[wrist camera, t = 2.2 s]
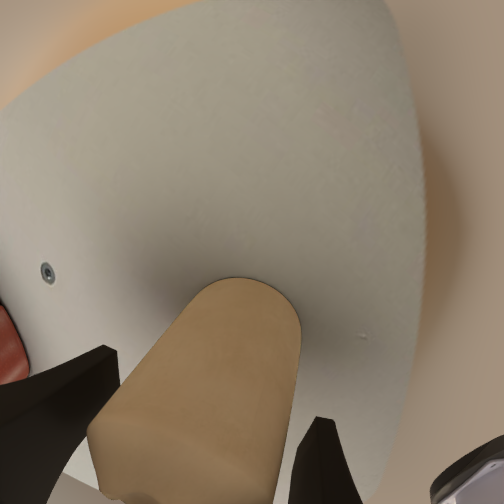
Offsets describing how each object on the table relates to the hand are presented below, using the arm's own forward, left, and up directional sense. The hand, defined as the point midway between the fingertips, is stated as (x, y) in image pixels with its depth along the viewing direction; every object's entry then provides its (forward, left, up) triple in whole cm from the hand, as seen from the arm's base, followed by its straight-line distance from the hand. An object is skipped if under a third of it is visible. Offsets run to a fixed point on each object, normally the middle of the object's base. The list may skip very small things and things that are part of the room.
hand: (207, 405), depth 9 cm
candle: (0, 0, -5) cm, 5 cm away
